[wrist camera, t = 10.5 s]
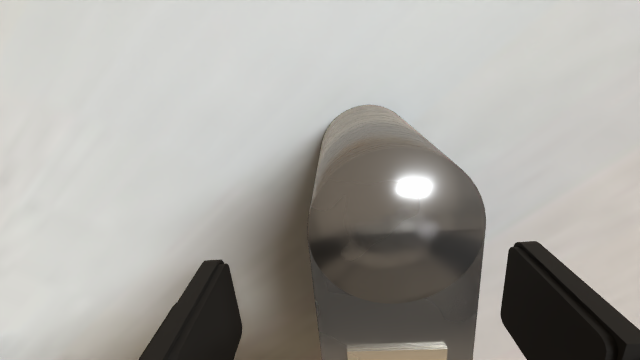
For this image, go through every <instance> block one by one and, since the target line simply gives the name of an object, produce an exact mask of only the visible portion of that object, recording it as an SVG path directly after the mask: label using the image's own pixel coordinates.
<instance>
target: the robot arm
mask: <svg viewBox="0 0 640 360" xmlns="http://www.w3.org/2000/svg"><path fill="white" fill-rule="evenodd" d="M501 319H502V322H503V324H504V326H505V327H506V329H507V330H508V332H509V333H510V335H511V336H512V338H513V339H514V341H515V342H516V344H517V346H518V347H519V349H520V350H521V352H522V353H523V355H524V356H525V358H526V359H527V360H640V330H639V329H638V328H637V327H636V326H634V325H633V324H632V323H631V322H630V321H629V320H627V319H626V318H625V317H624V316H623V315H622V314H620V313H619V312H618V311H617V310H616V309H615V308H614V307H612V306H611V305H610V304H609V303H608V302H607V301H605V300H604V299H603V298H602V297H601V296H600V295H599V294H597V293H596V292H595V291H594V290H593V289H592V288H590V287H589V286H588V285H587V284H586V283H585V282H584V281H582V280H581V279H580V278H579V277H578V276H577V275H575V274H574V273H573V272H572V271H571V270H570V269H569V268H567V267H566V266H565V265H564V264H563V263H562V262H560V261H559V260H558V259H557V258H556V257H555V256H554V255H552V254H551V253H550V252H549V251H548V250H547V249H545V248H544V247H543V246H542V245H541V244H540V243H538V242H536V241H530V242H517V243H515V245H514V247H511V248H510V249H509V253H508V260H507V268H506V275H505V283H504V291H503V298H502V306H501ZM241 335H242V323H241V318H240V314H239V309H238V305H237V300H236V296H235V291H234V287H233V282H232V278H231V273H230V269H229V265H228V264H224V262H223V261H222V260H207V261H204V262H203V263H202V265H201V266H200V268H199V269H198V271H197V272H196V274H195V276H194V277H193V279H192V280H191V282H190V283H189V285H188V286H187V288H186V290H185V291H184V293H183V294H182V296H181V297H180V299H179V301H178V302H177V303H176V304H175V305H174V306H173V307H172V309H171V310H170V312H169V313H168V315H167V317H166V318H165V320H164V321H163V323H162V324H161V326H160V327H159V329H158V330H157V332H156V334H155V335H154V337H153V338H152V340H151V341H150V343H149V344H148V346H147V347H146V349H145V351H144V352H143V354H142V355H141V357H140V358H139V360H234V357H235V353H236V350H237V347H238V344H239V341H240V338H241Z"/></svg>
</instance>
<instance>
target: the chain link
mask: <svg viewBox="0 0 640 360" xmlns="http://www.w3.org/2000/svg"><path fill="white" fill-rule="evenodd" d="M485 229H486V215H485V208H484V204H483V201H482V198H481V195H480V193H479V191H478V189H477V187H476V186H475V184H474V183H473V181H472V180H471V178H470V177H469V176H468V175H467V174H466V173H465V172H464V171H463V170H462V169H461V168H460V167H458V166H457V165H456V164H455V163H454V162H453V161H451V160H450V159H449V158H448V157H447V156H446V155H444V154H443V153H442V152H441V151H440V150H438V149H437V148H436V147H435V146H434V145H433V144H431V143H430V142H429V141H428V140H427V139H426V138H424V137H423V136H422V135H421V134H420V133H419V132H417V131H416V130H415V129H414V128H413V127H411V126H410V125H409V124H408V123H407V122H406V121H404V120H403V119H402V118H401V117H400V116H398V115H397V114H396V113H395V112H393V111H391V110H389V109H387V108H384V107H381V106H376V105H362V106H357V107H354V108H351V109H349V110H346V111H345V112H343V113H341V114H340V115H339V116H338V117H336V118H335V119H334V120H333V121H332V123H331V124H330V125H329V127H328V128H327V130H326V132H325V134H324V137H323V140H322V145H321V150H320V156H319V161H318V167H317V173H316V178H315V184H314V189H313V195H312V200H311V206H310V212H309V217H308V226H307V232H308V244H309V253H310V261H311V270H312V278H313V287H314V296H315V304H316V313H317V321H318V330H319V338H320V347H321V356H322V360H473V349H474V339H475V329H476V319H477V309H478V299H479V289H480V279H481V269H482V259H483V249H484V239H485Z"/></svg>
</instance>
